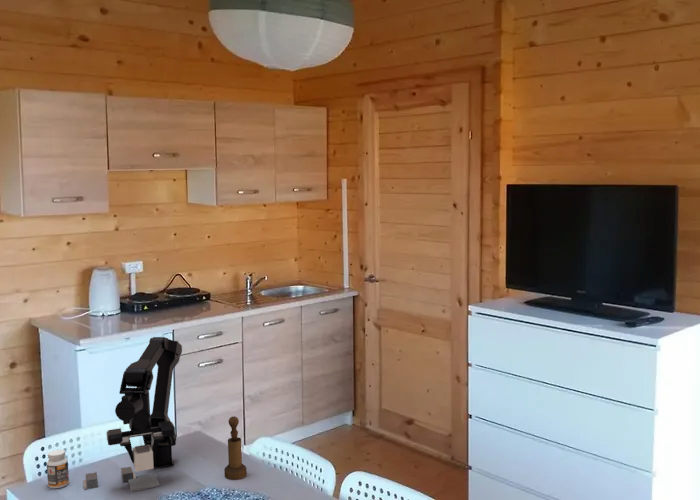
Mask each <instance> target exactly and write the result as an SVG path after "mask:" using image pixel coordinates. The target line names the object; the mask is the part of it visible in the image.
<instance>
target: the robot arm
mask: <svg viewBox="0 0 700 500" xmlns="http://www.w3.org/2000/svg"><path fill="white" fill-rule="evenodd" d="M182 353H183V345H182V344H181V343H180V342H179V341H178V340H172V339H169V338H168V337H165V336H153V337H151V338H150V339H149V343H148V345H147V346H146V348H145V349H144V351H143V353H142V354H141V356H140V357H139V358H138V360H136V361H135V362H132V363H130V364H129V366H127V367H126V368H125V370H124V372H123V375H122V378H121V379H122V380H121V384H120V388H119V395H122V396H121V400H120V401H119V402H118V403H117V404H116V406H115V409H114V412H115V415H116V417H117V418H118V419H119V420H121V421H122V424H123V425H129V426H128V427H129V429H130V430H128V431H127V430H126V431H122V428H121V427H119V428H113V429H108V430H107V431H106V441H107V444H108V446H114V445H120V447H124V449H125V450H126V451H127V453H128V455H129V458H130V460H131V463H132V464H133V463H134V457H133V449H132V448H133V446H132V443H131V439H130V438H136V437H142V439H143V445H150V446H151V449H152V451H153V465H154V469H159V468H166V467H169V466H174V462H173V451H172V449H173V448H172V447H173V446H176V445H177V442H176V441H177V434H176V428H175V425H174V423H173V421H171V419H170V417H169V406H170V399H171V389H172V379H173V373H174V369H175V367H176V366H177V365H178V364H179V363H180V359H181V355H182ZM156 365H157V372H156V373H157V374H156V381H155V388H154V396H153V405H152V411H151V402H150V401H151V400H150V390H151V387H152V384H153V380H154V374H153V369H154V368H155V366H156Z"/></svg>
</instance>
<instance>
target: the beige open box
mask: <svg viewBox="0 0 700 500" xmlns="http://www.w3.org/2000/svg"><path fill="white" fill-rule="evenodd" d="M132 451H133V457H134V463H132V465H133V467H134V472H136V473H137V472H141V471H148V470H153V469H154V470H155V468H154V465H153V451H152V449H151V446H150V445H144V444H143V445H137V446H134V447H133V446H132Z"/></svg>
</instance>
